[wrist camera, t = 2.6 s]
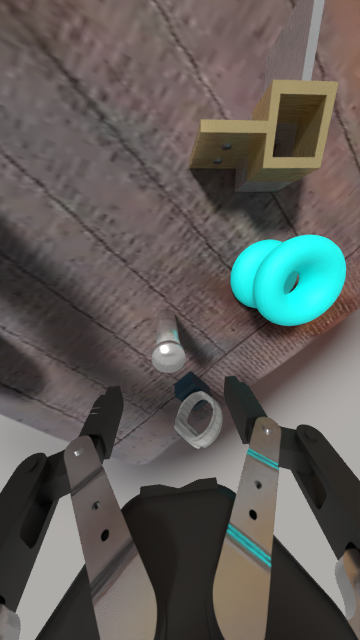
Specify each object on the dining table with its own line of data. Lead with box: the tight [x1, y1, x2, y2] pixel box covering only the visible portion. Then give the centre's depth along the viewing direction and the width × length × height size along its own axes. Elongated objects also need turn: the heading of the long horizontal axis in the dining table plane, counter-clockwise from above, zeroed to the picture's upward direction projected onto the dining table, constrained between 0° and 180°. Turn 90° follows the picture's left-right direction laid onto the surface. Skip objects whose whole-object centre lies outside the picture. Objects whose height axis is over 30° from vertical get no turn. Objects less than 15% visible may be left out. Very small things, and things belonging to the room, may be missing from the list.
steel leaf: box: [234, 0, 325, 192], centre depth 17 cm, size 6×12×7 cm, turn 2°
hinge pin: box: [152, 309, 186, 373], centre depth 23 cm, size 3×3×12 cm
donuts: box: [230, 235, 346, 326], centre depth 23 cm, size 10×10×10 cm
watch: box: [174, 371, 223, 449], centre depth 29 cm, size 6×8×11 cm
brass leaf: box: [189, 79, 338, 182], centre depth 18 cm, size 12×6×7 cm, turn 92°
